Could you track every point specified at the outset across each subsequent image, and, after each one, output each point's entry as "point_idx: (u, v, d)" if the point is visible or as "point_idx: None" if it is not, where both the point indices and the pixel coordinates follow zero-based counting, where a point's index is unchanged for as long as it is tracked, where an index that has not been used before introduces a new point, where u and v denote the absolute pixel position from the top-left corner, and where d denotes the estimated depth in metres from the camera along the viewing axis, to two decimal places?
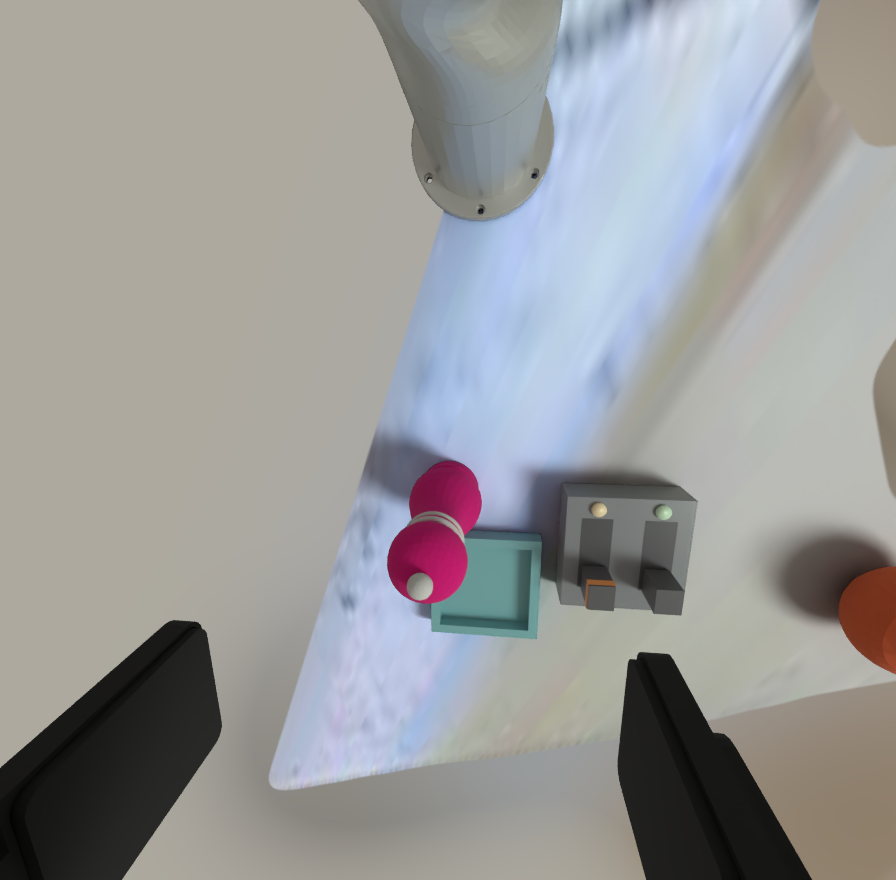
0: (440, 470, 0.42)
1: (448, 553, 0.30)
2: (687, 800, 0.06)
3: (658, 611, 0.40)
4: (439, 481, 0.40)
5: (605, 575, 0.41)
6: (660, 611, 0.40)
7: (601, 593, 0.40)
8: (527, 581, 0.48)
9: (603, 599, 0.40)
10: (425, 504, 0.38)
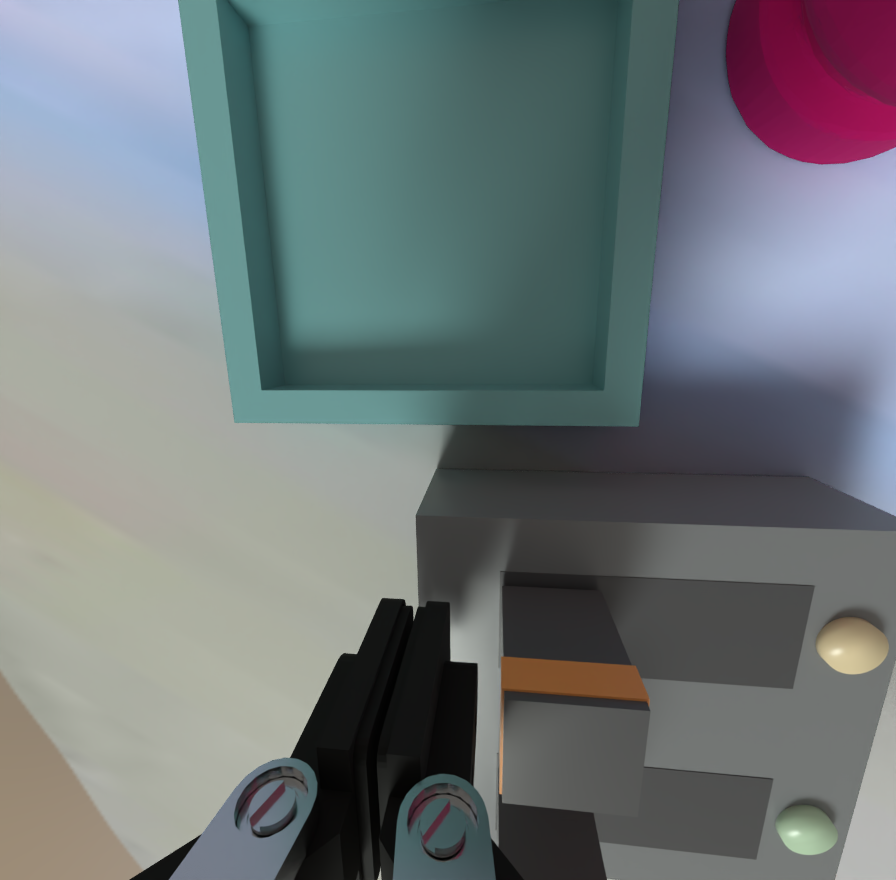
0: None
1: None
2: None
3: None
4: None
5: None
6: None
7: (601, 760, 0.08)
8: (441, 378, 0.14)
9: (566, 767, 0.08)
10: None
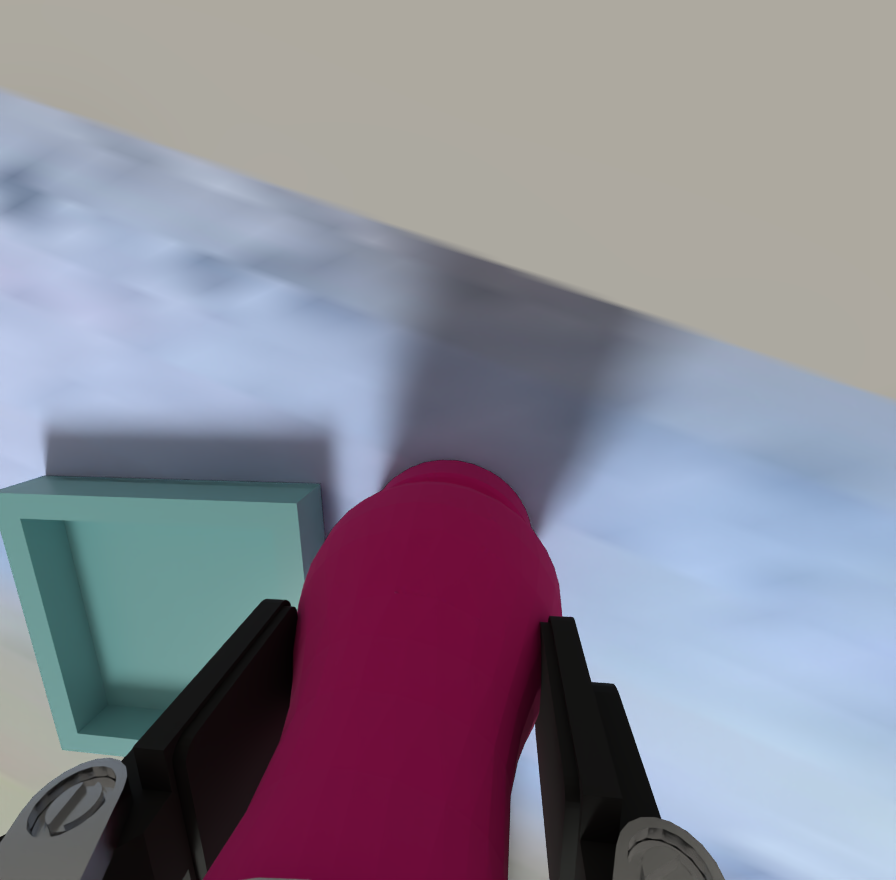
0: None
1: None
2: (556, 727, 0.07)
3: None
4: None
5: None
6: None
7: None
8: None
9: None
10: (496, 735, 0.07)
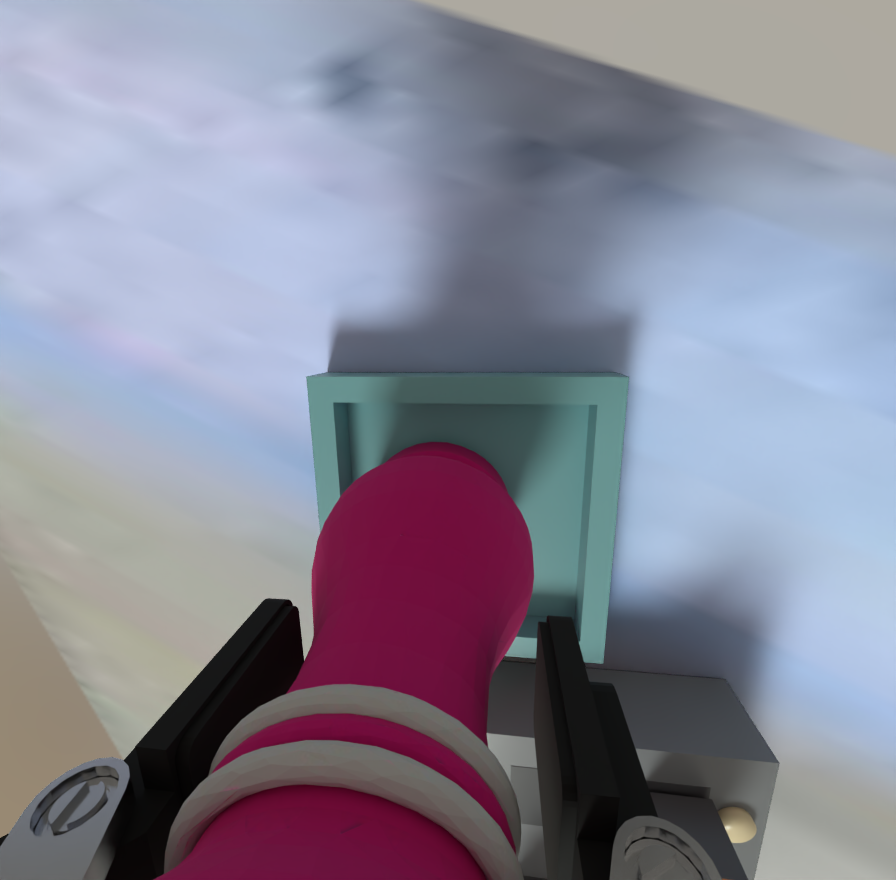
0: None
1: None
2: (553, 726, 0.07)
3: None
4: (523, 600, 0.12)
5: None
6: None
7: None
8: None
9: None
10: (478, 633, 0.09)
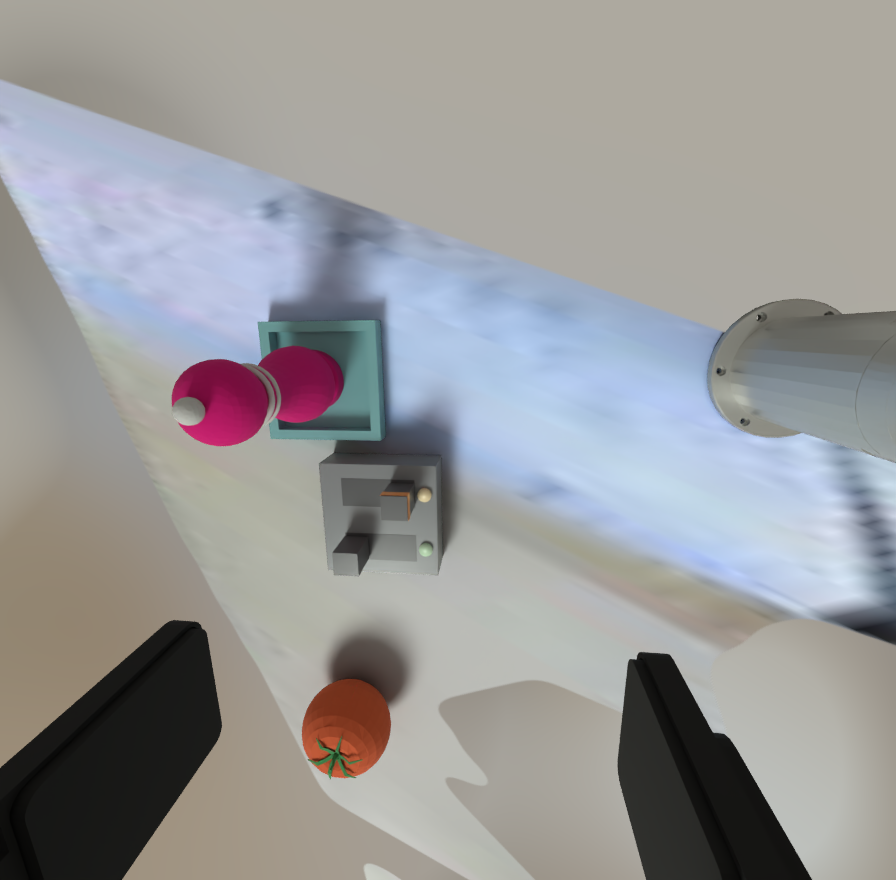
0: (330, 381, 0.40)
1: (232, 433, 0.28)
2: (687, 800, 0.06)
3: (334, 556, 0.41)
4: (317, 385, 0.38)
5: (411, 507, 0.41)
6: (335, 558, 0.41)
7: (399, 508, 0.39)
8: (332, 425, 0.46)
9: (393, 510, 0.40)
10: (289, 377, 0.35)
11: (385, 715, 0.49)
